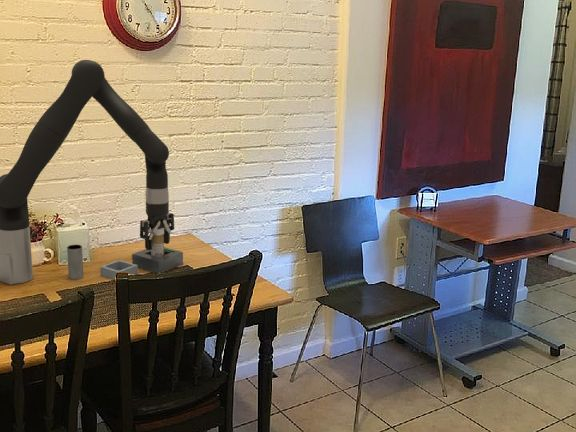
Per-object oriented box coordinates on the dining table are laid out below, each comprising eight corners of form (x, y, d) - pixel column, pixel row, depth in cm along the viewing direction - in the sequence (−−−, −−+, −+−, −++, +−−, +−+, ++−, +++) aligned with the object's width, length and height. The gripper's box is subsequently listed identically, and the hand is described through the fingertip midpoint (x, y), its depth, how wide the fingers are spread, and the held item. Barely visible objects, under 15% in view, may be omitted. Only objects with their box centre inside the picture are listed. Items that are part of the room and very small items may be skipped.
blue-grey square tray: (119, 281, 204) (118, 272, 204) (100, 275, 208) (100, 266, 208) (137, 273, 211) (137, 265, 210) (119, 268, 215) (119, 259, 215)
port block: (159, 274, 212) (158, 260, 210) (132, 266, 217) (132, 253, 216) (182, 264, 222) (183, 251, 220) (156, 257, 227) (156, 244, 226)
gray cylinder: (79, 273, 209) (77, 243, 206) (86, 277, 206) (84, 247, 203) (66, 276, 206) (64, 246, 203) (72, 280, 203) (71, 250, 200)
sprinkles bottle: (165, 263, 222) (165, 226, 218) (163, 268, 217) (162, 230, 214) (151, 263, 221) (151, 225, 218) (149, 267, 217) (149, 229, 213)
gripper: (163, 194, 221) (163, 239, 225) (133, 202, 209) (134, 249, 214) (180, 198, 217) (180, 243, 222) (150, 206, 205) (151, 254, 210)
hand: (157, 246), depth 218 cm, fingers open, 8 cm apart
